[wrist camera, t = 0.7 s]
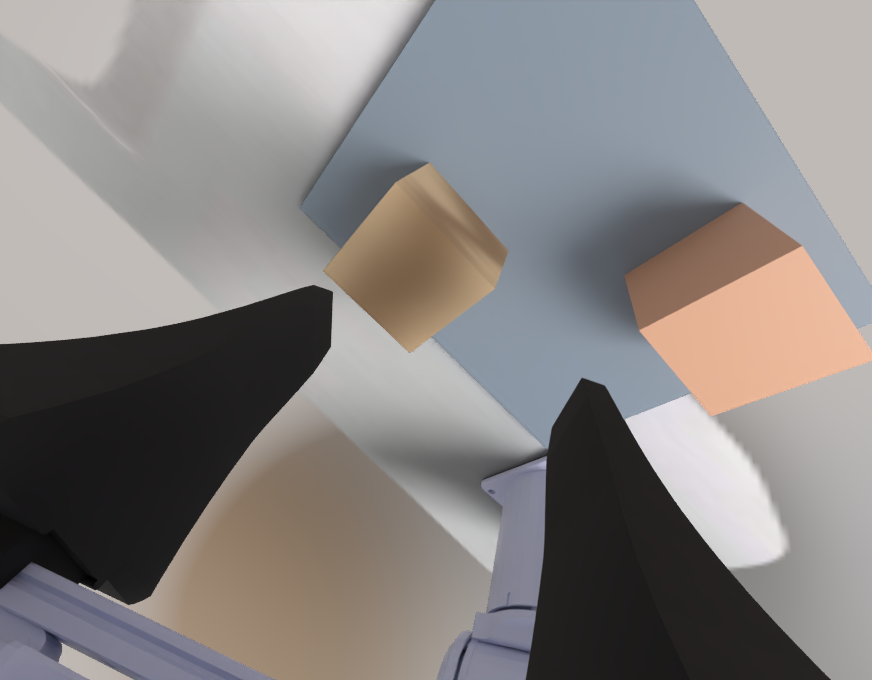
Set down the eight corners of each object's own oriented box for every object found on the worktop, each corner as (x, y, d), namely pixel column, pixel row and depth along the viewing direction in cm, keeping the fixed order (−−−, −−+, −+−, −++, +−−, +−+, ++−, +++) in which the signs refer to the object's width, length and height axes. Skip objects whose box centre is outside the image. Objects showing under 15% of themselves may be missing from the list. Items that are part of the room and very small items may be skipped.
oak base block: (508, 250, 17) (494, 288, 14) (434, 310, 20) (409, 353, 17) (429, 162, 16) (395, 182, 13) (363, 239, 19) (323, 271, 16)
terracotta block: (802, 290, 15) (877, 359, 11) (682, 346, 18) (711, 416, 14) (742, 202, 14) (802, 245, 10) (624, 275, 17) (639, 330, 13)
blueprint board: (876, 306, 15) (889, 316, 15) (547, 439, 24) (546, 449, 24) (568, -187, 11) (568, -203, 10) (308, 203, 20) (299, 207, 19)
